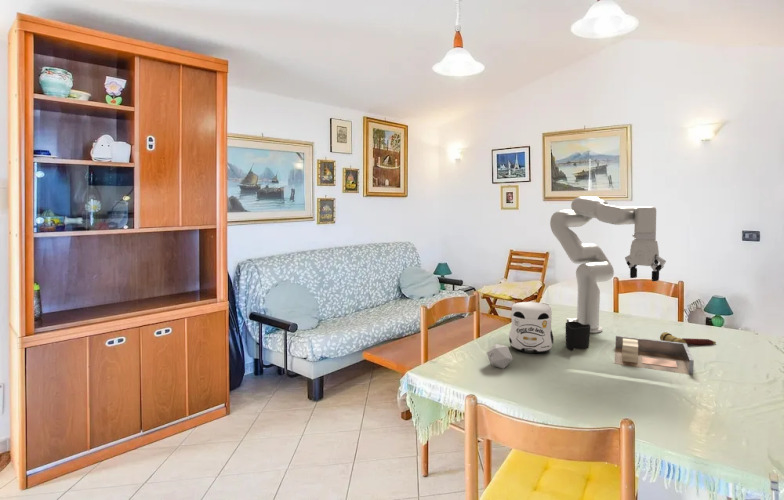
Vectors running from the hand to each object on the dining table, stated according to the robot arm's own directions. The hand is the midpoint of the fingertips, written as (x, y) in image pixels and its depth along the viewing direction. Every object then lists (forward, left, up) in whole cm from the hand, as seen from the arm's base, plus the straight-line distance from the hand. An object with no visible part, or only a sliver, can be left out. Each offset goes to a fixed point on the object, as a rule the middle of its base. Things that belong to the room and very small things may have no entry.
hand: (644, 279), depth 181 cm
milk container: (-40, -21, -29) cm, 54 cm away
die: (-47, -45, -29) cm, 71 cm away
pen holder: (-23, -12, -29) cm, 39 cm away
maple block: (-4, -19, -27) cm, 34 cm away
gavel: (+19, +12, -29) cm, 37 cm away
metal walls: (+3, -18, -28) cm, 34 cm away
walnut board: (+3, -18, -28) cm, 34 cm away
